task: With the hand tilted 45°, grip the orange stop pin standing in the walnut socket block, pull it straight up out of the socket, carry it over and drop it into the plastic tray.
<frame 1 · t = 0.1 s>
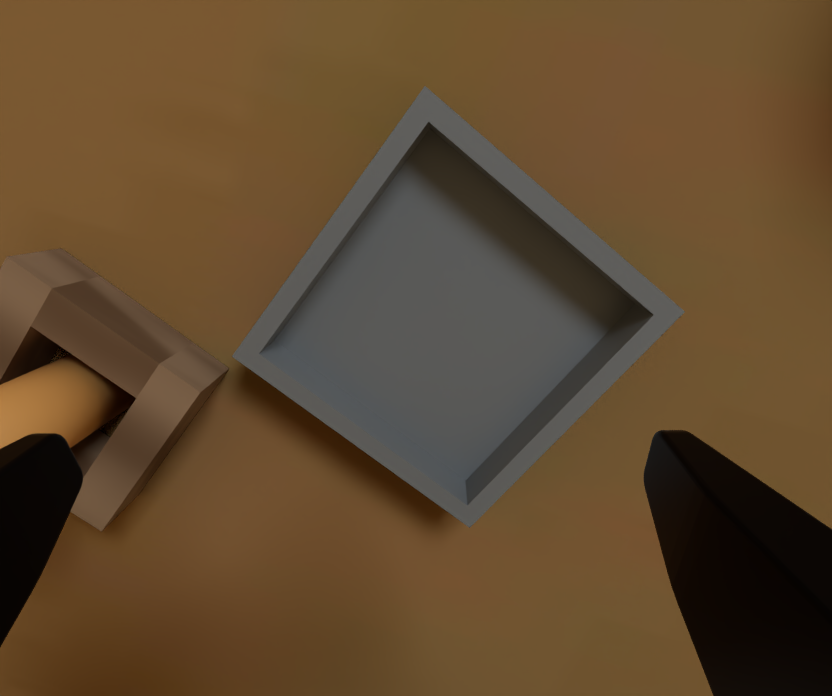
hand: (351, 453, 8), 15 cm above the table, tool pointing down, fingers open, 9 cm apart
tray: (449, 316, 23), on the table
socket block: (102, 380, 25), on the table
stop pin: (21, 425, 20), in the socket block
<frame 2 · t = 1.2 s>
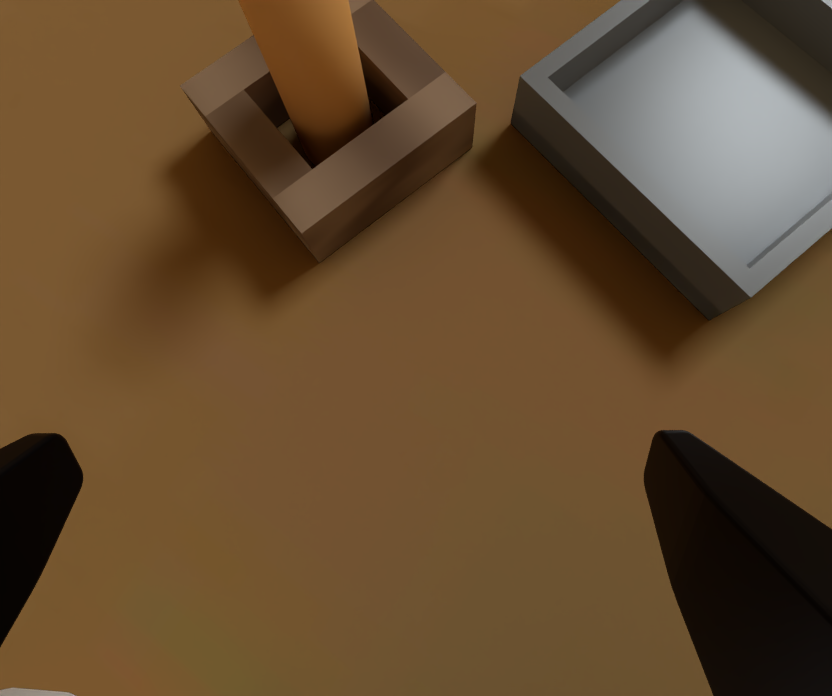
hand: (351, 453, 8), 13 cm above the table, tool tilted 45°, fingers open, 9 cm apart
tray: (705, 134, 23), on the table
socket block: (338, 138, 24), on the table
stop pin: (313, 57, 20), in the socket block
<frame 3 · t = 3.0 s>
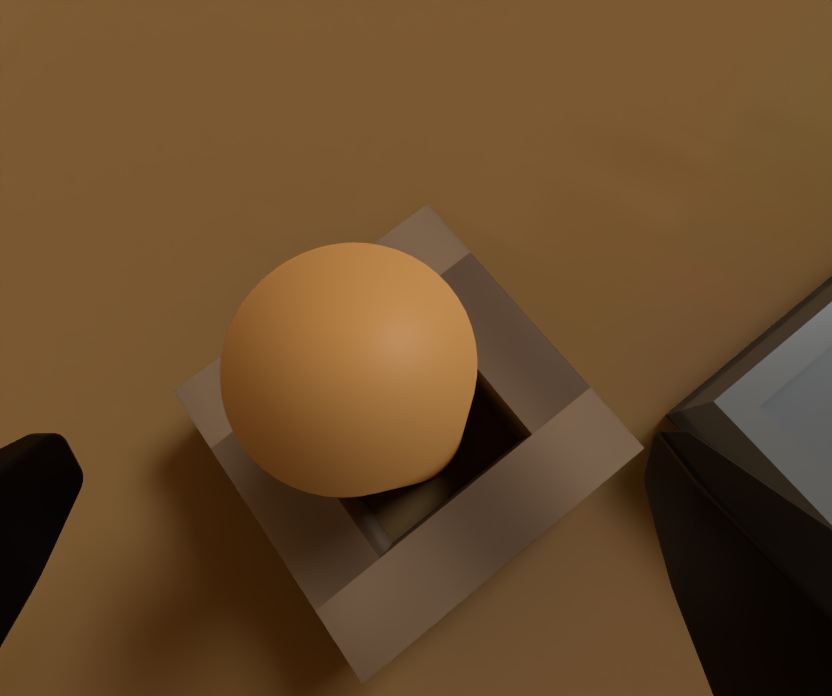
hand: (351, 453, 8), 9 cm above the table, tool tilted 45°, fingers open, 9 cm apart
socket block: (407, 428, 17), on the table
stop pin: (389, 408, 12), in the socket block
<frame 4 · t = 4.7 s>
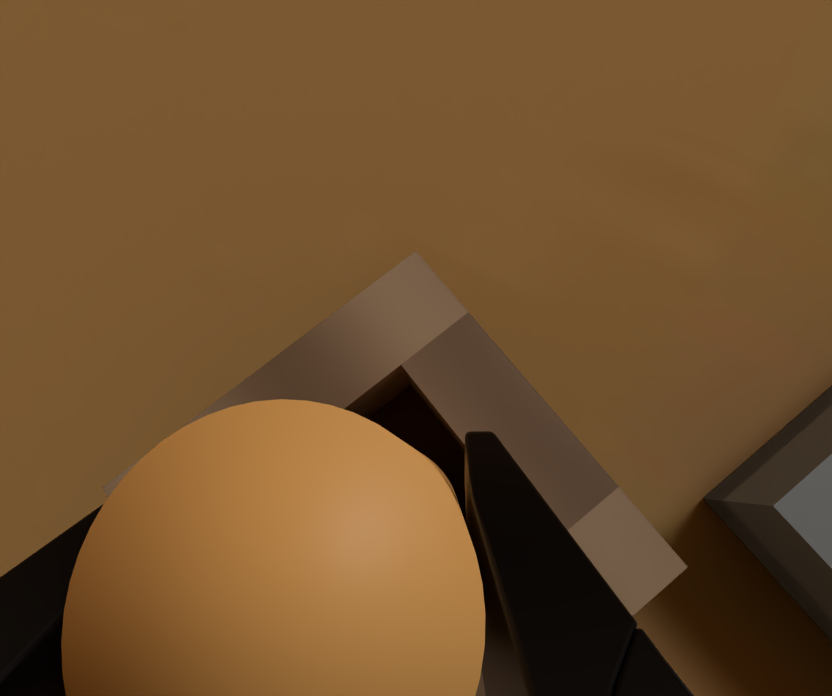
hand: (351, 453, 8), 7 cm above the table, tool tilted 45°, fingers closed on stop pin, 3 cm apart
socket block: (394, 513, 14), on the table
stop pin: (365, 536, 9), in the socket block, touching gripper
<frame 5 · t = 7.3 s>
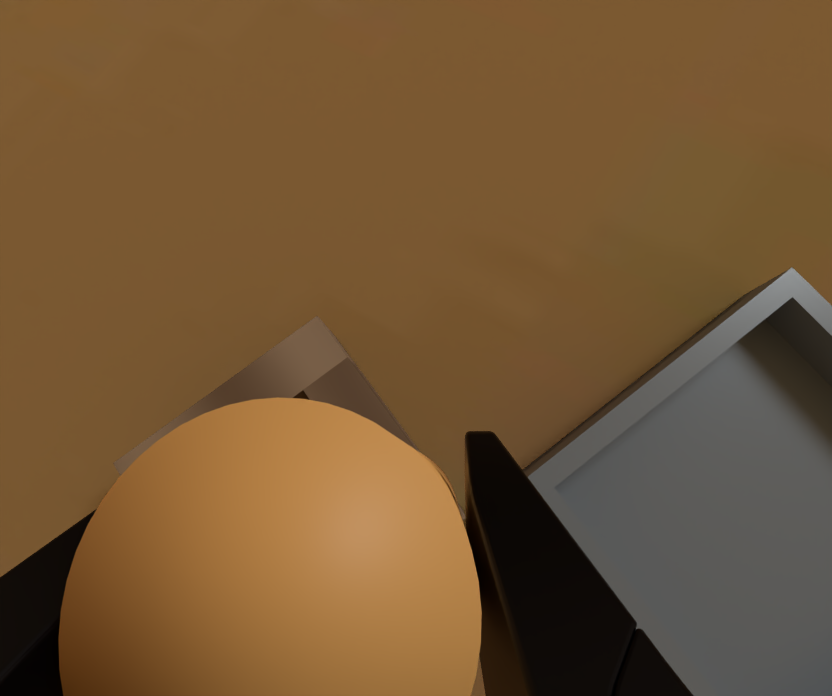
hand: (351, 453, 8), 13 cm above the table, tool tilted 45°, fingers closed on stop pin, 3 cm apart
tray: (744, 514, 20), on the table
socket block: (306, 486, 21), on the table
stop pin: (364, 535, 9), point 12 cm above the table, touching gripper
when the fingers open (9 cm above the table, at t = 9.8 s): stop pin drops 2 cm, resting on tray.
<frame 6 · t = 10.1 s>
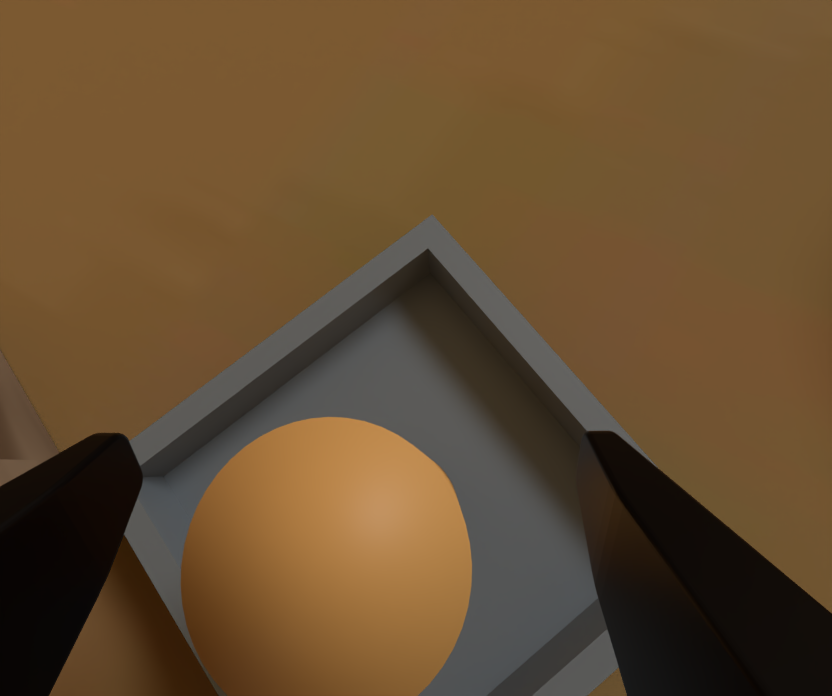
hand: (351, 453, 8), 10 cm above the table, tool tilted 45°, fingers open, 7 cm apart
tray: (404, 505, 17), on the table
stop pin: (379, 524, 11), in the tray, point 6 cm above the table
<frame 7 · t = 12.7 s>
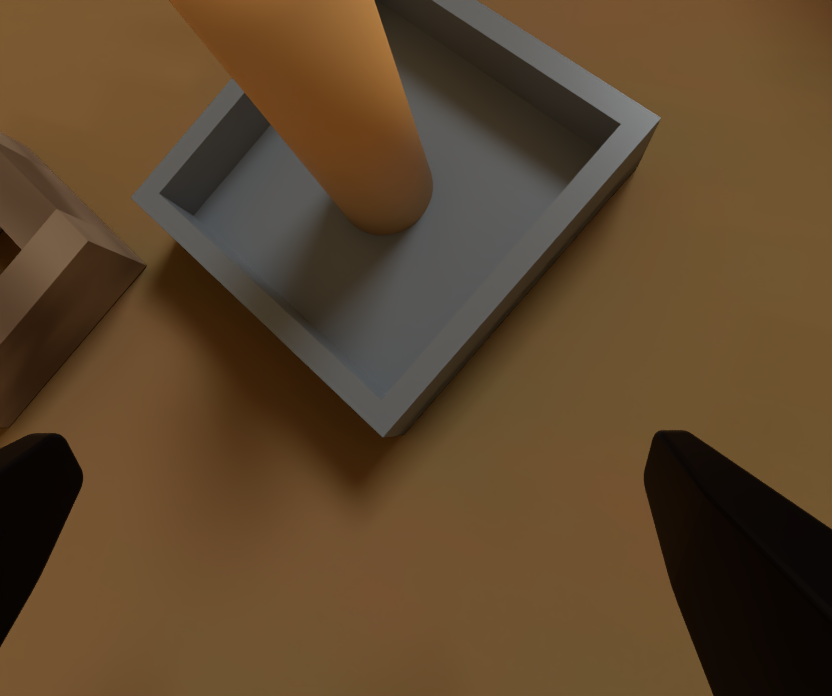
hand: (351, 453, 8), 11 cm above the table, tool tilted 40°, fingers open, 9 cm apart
tray: (392, 199, 20), on the table
socket block: (18, 281, 22), on the table
stop pin: (340, 107, 14), in the tray, point 6 cm above the table
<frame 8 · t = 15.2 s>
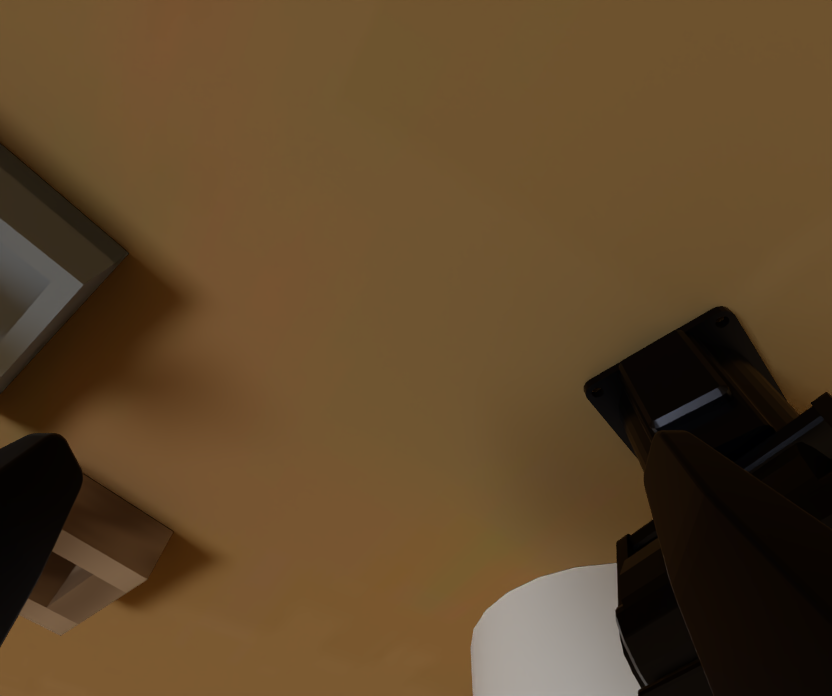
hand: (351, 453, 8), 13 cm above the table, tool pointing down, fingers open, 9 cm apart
socket block: (62, 521, 29), on the table
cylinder: (602, 643, 34), on the table
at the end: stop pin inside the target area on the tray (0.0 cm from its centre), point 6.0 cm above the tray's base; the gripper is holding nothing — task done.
